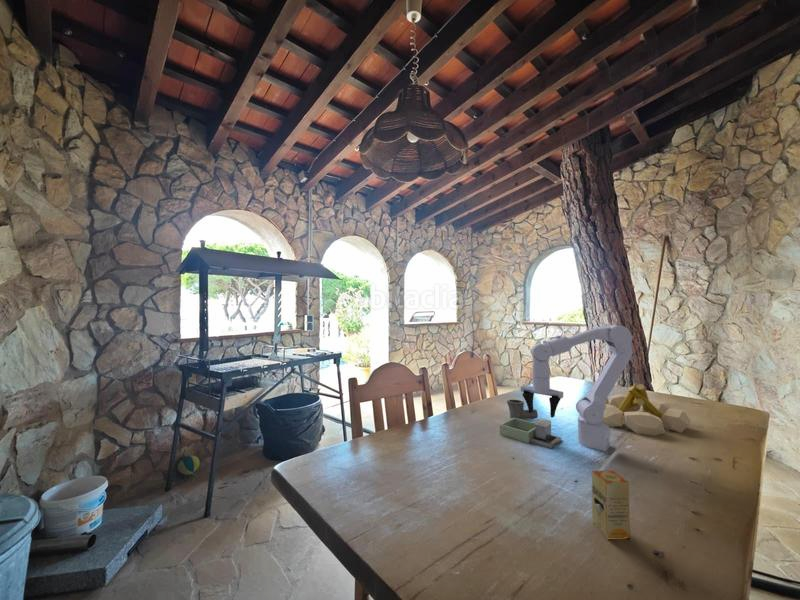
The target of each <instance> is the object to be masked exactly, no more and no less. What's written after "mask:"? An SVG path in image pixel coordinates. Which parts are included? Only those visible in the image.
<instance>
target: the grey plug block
mask: <svg viewBox="0 0 800 600" xmlns="http://www.w3.org/2000/svg"><path fill="white" fill-rule="evenodd" d="M534 423H535V439H537V440H540V441H544V442H547V443H548V442H550V441H551V435H552V421H551V420H550V419H546V418H539V419H537V420H536V421H535V422H534Z"/></svg>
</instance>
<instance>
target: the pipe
mask: <svg viewBox="0 0 800 600" xmlns="http://www.w3.org/2000/svg"><path fill="white" fill-rule="evenodd" d="M524 401H525V400H524ZM524 401H523V400H520V399H507V400H506V404H507V406H508V411H509V418H510V419H512V418H517V419H521V420H522V419H538V415H539V413H538V411H537V409H534V408H533V412H532V413H529V409H524V407H525V406H524V404H525V402H524Z"/></svg>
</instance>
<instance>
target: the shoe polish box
mask: <svg viewBox="0 0 800 600" xmlns="http://www.w3.org/2000/svg"><path fill="white" fill-rule="evenodd" d="M629 483H630V482H629V481H628V480H626V479H625V478H623V476H621V475H620V474H618V473H617V472H616V471H614V470H591V499H592V500H591V501H592V506H591V507H592V508H591V511H592V513H591V514H592V524H593V523H594V525H595V526H596V527H597V528H598V529H599V530H600V531H601V533H602V534H603V535H604V536H605V537H606V538H625V537H630V538H631V535H630V534H631V529H630V527H631V526H630V524H631V523H630V484H629ZM594 525H593V526H594ZM595 526H594V527H595ZM601 533H600V534H601ZM602 534H601V535H602ZM603 535H602V536H603ZM604 536H603V537H604ZM605 537H604V538H605ZM606 538H605V539H606Z"/></svg>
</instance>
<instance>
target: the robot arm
mask: <svg viewBox="0 0 800 600" xmlns="http://www.w3.org/2000/svg"><path fill="white" fill-rule="evenodd" d="M633 339H634V336H633V335H632V333H631V332H630V330H629V328H627V327H626V326H624V325H619V324H618V325H616V324H611V323H607V324H604V325H600V326H596V327H593V328H590V329H588V330H585V331H582V332H579V333H576V334H574V335H572V336H569V337H567V336H565V335H559V334H558V335H556V336H555V338H552V339H549V340H542V343H540V342H538V343H535V344H533V346H531V350H530V354H531V356H532V364H531V367H532V368H531V369H532V371H531V372H532V385H521V386H520V392H521V393H522V392H523V393H522V397H523V399H524V401H525V402H526V405H527V408H528V409H527V410H529V413H532V412H533V409H534V394H537V395H543V396H548V399H549V406H550V409H549V410H550V418H554V417H555V416H556V415H555V414H556V410H557V407H558V405H559V404H560V402H561V399H563V398H564V391H561V390H557V389H556V390H555V389H553V388H552V389H551V388H550V387H551V386H550V358H551V357H555V356H559V355H561V354H565V353H567V352H570V351H571V350H572V348H573V346H577V345H580V344H584V343H588V342H591V341H594V340H598V341H599V340H600V341H604V342H605V343H606V344H607V346H608V347H609V349H610V352H611V354H610V357H609V359H608V360H607V361H606V364H605V365H604V367H603V368H602V370H601V371H600V374H599V375H598V377H597V379H596V380H595V382H594V384H593V385H592V388H591V389H590V391H589V392H587V393H585V394H584V396H583V397H581V399H579V400H578V401H577V402H576V404H575V409H576V411H577V413H578V417H577V440H578V441H577V442H578V444H579V445H580V446H582V447H585V448H590V449H595V450H598V451H603V452H606V451H607V450H609V448H611V429H610V426H608V425H605V424H603V423H601V421H602V420H603V418H604V410H605V409H606V399H607V398H608V397H609V396H610V394H611V392H612V390H613V389H614V387H615V386H616V383H617V382H618V380H619V378H620V377H621V375H622V374H623V372H624V370H625V368H626V367H627V365H628V363H629V361H630V360H631V358H632V356H633V347H632V341H633ZM549 396H550V397H549Z"/></svg>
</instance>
